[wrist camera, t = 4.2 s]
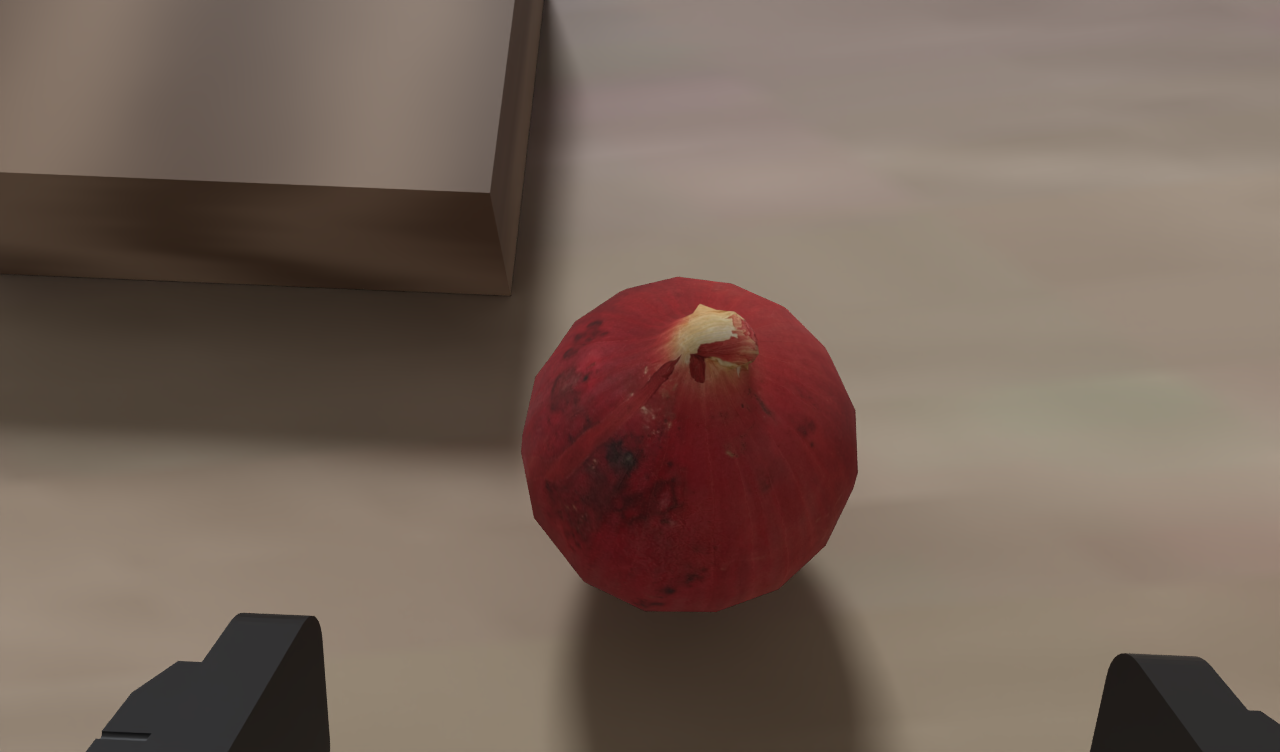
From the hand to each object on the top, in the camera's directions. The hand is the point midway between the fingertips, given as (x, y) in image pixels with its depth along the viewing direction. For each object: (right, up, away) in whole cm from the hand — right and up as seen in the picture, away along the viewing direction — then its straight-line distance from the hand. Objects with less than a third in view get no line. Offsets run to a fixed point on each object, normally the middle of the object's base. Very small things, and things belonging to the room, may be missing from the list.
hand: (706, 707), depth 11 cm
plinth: (-9, +10, +16) cm, 21 cm away
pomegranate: (0, 0, +11) cm, 11 cm away
